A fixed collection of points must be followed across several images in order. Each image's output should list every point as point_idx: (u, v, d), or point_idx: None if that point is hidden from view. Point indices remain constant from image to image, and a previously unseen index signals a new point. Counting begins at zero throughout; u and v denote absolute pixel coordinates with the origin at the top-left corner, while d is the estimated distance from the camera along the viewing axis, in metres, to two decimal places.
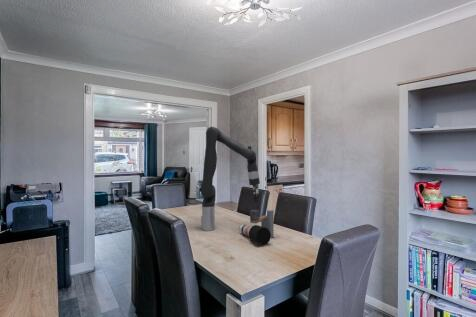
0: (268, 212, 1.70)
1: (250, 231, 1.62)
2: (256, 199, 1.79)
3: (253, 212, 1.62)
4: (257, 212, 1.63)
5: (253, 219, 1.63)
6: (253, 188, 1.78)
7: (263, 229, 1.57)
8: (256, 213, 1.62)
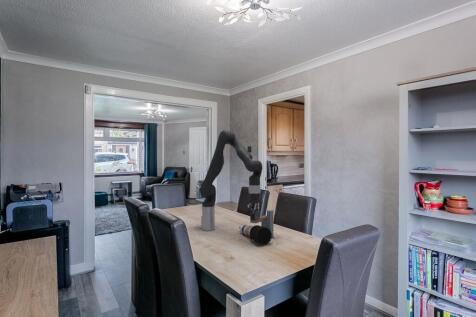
0: (268, 212, 1.70)
1: (250, 231, 1.62)
2: (252, 217, 1.61)
3: None
4: (257, 212, 1.63)
5: None
6: (248, 206, 1.59)
7: (264, 229, 1.57)
8: (256, 213, 1.63)
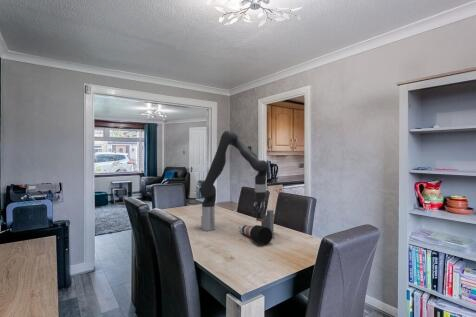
0: (268, 212, 1.70)
1: (251, 231, 1.62)
2: (258, 215, 1.67)
3: None
4: (263, 210, 1.68)
5: None
6: (254, 204, 1.64)
7: (265, 229, 1.57)
8: (262, 211, 1.68)
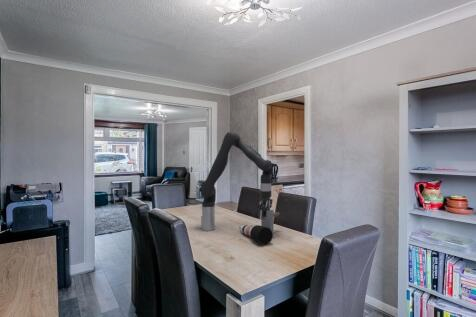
0: (268, 212, 1.70)
1: (251, 231, 1.62)
2: (263, 214, 1.71)
3: None
4: (268, 209, 1.73)
5: None
6: (260, 203, 1.69)
7: (265, 229, 1.57)
8: (267, 210, 1.72)
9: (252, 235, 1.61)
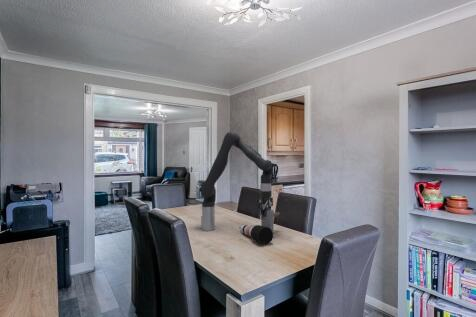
0: (268, 212, 1.70)
1: (252, 231, 1.62)
2: (262, 213, 1.70)
3: (265, 209, 1.72)
4: (268, 209, 1.73)
5: (264, 215, 1.73)
6: (259, 201, 1.69)
7: (265, 229, 1.57)
8: (267, 210, 1.73)
9: (252, 235, 1.61)
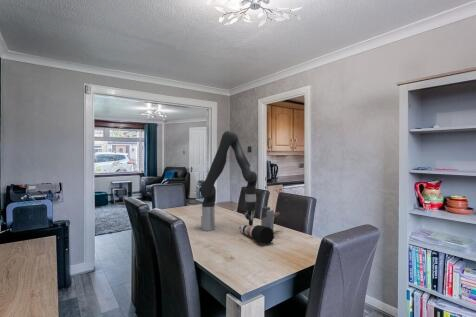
0: (268, 212, 1.70)
1: (253, 231, 1.62)
2: (250, 223, 1.78)
3: (265, 209, 1.72)
4: (268, 209, 1.73)
5: (264, 215, 1.73)
6: (245, 215, 1.75)
7: (266, 229, 1.57)
8: (267, 210, 1.73)
9: (253, 235, 1.61)
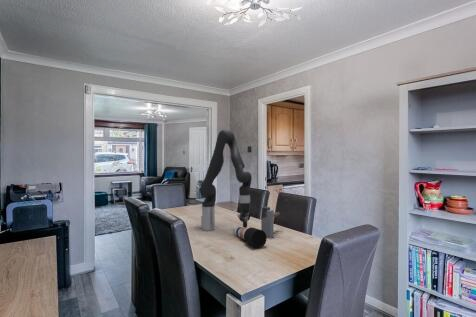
0: (268, 212, 1.70)
1: (245, 234, 1.58)
2: (244, 225, 1.73)
3: (265, 209, 1.72)
4: (268, 209, 1.73)
5: (264, 215, 1.73)
6: (239, 216, 1.70)
7: (259, 231, 1.52)
8: (267, 210, 1.73)
9: (246, 238, 1.56)
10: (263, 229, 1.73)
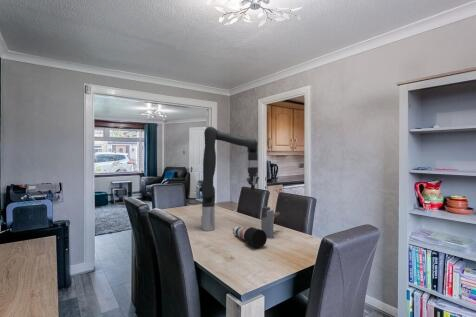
0: (268, 212, 1.70)
1: (245, 234, 1.57)
2: (252, 188, 1.88)
3: (265, 209, 1.72)
4: (268, 209, 1.73)
5: (264, 215, 1.73)
6: (247, 179, 1.85)
7: (259, 231, 1.52)
8: (267, 210, 1.73)
9: (246, 238, 1.56)
10: (263, 229, 1.73)
